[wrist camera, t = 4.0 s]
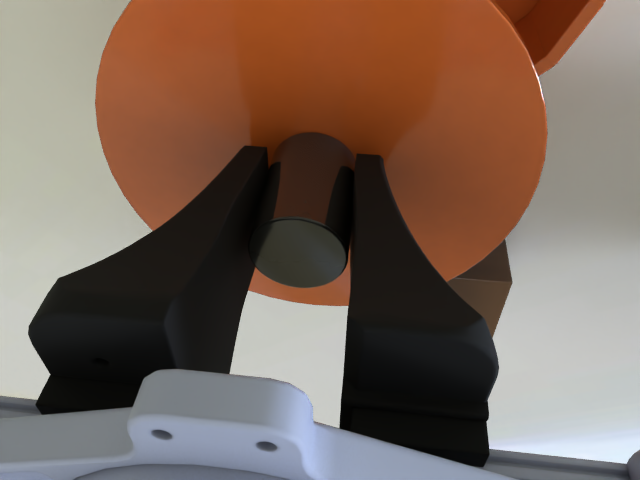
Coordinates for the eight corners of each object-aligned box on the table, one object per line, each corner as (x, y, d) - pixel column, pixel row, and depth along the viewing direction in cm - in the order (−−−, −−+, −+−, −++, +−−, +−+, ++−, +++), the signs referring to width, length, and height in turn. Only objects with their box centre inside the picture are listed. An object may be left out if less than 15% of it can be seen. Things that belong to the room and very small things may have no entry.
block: (501, 216, 29) (512, 282, 26) (484, 275, 32) (492, 340, 29) (413, 210, 29) (413, 274, 26) (404, 268, 33) (404, 331, 29)
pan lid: (612, -78, 12) (688, 11, 9) (486, 297, 20) (501, 411, 17) (49, -101, 13) (-72, -27, 9) (156, 267, 21) (112, 371, 18)
